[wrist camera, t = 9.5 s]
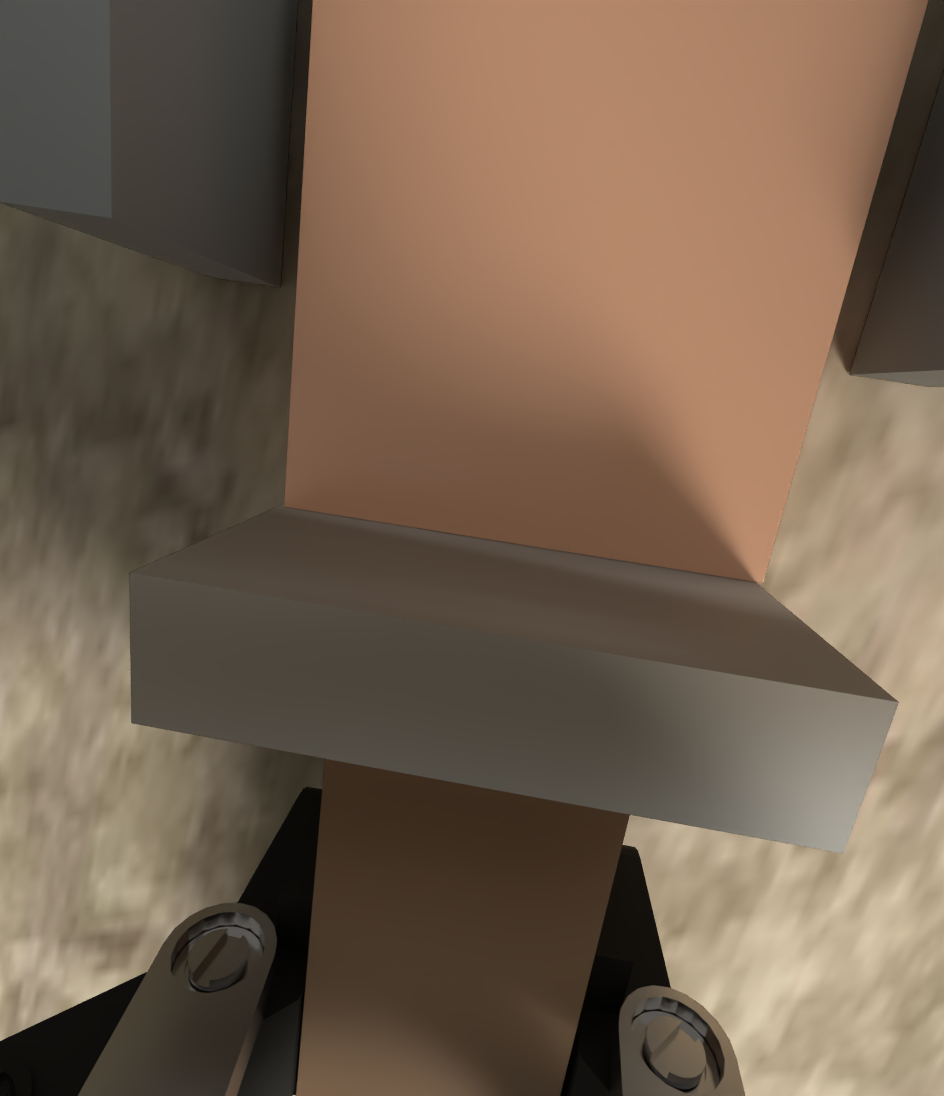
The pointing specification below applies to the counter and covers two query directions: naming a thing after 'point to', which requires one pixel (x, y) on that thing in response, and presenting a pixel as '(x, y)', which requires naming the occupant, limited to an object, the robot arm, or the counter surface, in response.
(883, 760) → the counter surface
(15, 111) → the bay
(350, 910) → the scraper
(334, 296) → the tile
